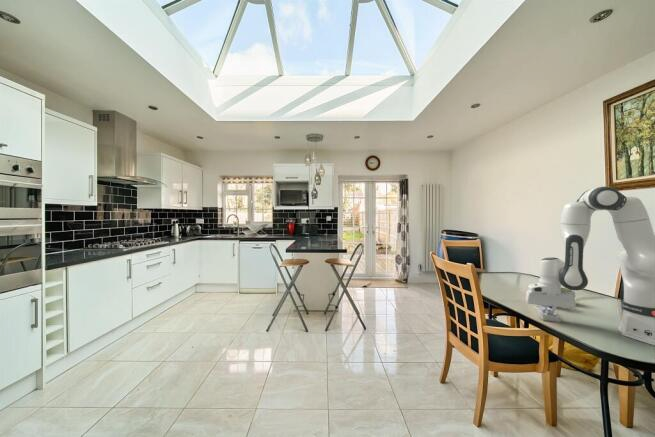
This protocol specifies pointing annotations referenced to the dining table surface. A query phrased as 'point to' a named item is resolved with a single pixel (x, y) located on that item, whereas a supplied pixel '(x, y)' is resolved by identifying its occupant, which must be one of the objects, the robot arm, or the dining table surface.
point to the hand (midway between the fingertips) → (549, 314)
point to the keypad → (546, 317)
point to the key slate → (544, 309)
